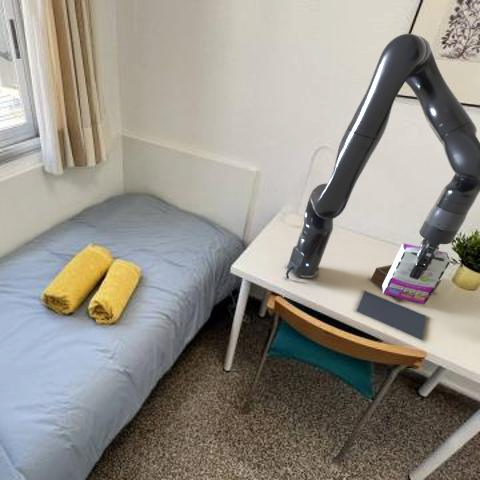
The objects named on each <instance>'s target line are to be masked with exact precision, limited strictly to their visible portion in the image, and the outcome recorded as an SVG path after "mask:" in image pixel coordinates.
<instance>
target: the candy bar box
mask: <svg viewBox="0 0 480 480" xmlns="http://www.w3.org/2000/svg"><path fill="white" fill-rule="evenodd" d="M399 248H400V249H399V250H398V252H397V254H396V256H395V258H394V260H393V263H392V264H391V265H392V266H391V268H390V271H389V272H388V274H387V277H386V279H385V281H384V283H383V285H382V289H381V290H382V295H384V296H387V297H391V298H393V297H395V298H399V299H402V300H403V301H406V302H410V303H413V304H417V305H422V306H425V305H426V303H427V302H428V301H429V298H430V297H431V295H432V294H433V293H432V292H433V290H434V288H435V287H436V285H437V283H438V282H439V280H441V278H442V277H443V276H444V274H445V272H446V270H447V268H448V267H449V266H450V263H451V262H452V260H451V259H450V256H449V253H448V252H446V251H442V250H441V251H440V250H438V252H437V253H436V254H435V257H434V258H433V259H432V261H431V263H430V264H429V266H428V267H427V270H425V271H423V272H422V273H421V275H420V277H419V279H414V278H412V277H410V273H411V271H412V270H413V268H414V266H415V265H414V264H416V262H417V260H418V258H417V255H418V253H419V251H420V247H419V246H418V245H414V244H409V243H404V242H403V243H402V244H401V246H400V247H399ZM421 255H422V254H421ZM421 255H420V256H421ZM420 264H422V263H420ZM422 265H424V264H422Z"/></svg>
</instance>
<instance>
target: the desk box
mask: <svg viewBox="0 0 480 480" xmlns="http://www.w3.org/2000/svg"><path fill="white" fill-rule="evenodd" d="M391 266H392V264H388V265H384V266H379V267H378V266H377V267H376V268H375V270H374V272H373V273H372V275H371V278H370V281H371V282H372V283H374V284H375V285H376V286H378V288H380V289H381V290H383V289H382V285H383V283H384V281H385V279H386V277H387V274H388V272H389V271H390V268H391ZM441 282H442V279H440V280H439V282H438V283H437V285H436V287H435V288H434V290H433V292H432V293H431V294H434V293H435V291H437V288H438V287H439V285H440V284H441ZM392 298H393V299H394V300H395V301H396V302H402V301H404V300H402V299H399V298H395V297H392Z"/></svg>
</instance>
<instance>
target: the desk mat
mask: <svg viewBox="0 0 480 480" xmlns="http://www.w3.org/2000/svg"><path fill="white" fill-rule="evenodd" d="M356 312H358V313H360V314H362V315H364V316H366V317H369V318H372V319H373V320H376V321H378V322H380V323H382V324H385V325H387V326H389V327H392V328H394V329H395V330H398V331H400V332H403V333H405V334H408V335H410V336H412V337H415V338H417V339H419V340H423V337H424V332H425V331H424V330H425V327H426V326H425V325H426V320H427V315H425V314H423V313H421V312H417V311H416V310H413V309H410V308H408V307H405V306H403V305H400V304H398V303H395V302H393V301H391V300H388V299H386V298H383V297H381V296H378V295H377V294H373V293H372V292H368V291H366V290H364V292H363V294H362V296H361V299H360V301H359V304H358V306H357V308H356Z"/></svg>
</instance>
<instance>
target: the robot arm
mask: <svg viewBox="0 0 480 480" xmlns="http://www.w3.org/2000/svg"><path fill="white" fill-rule="evenodd" d="M405 83H406V84H407V85H408V87H409V88H410V90H412V92H413V93H414V96H416V98H417V101H418V102H419V105H420V107H421V109H422V112H423V115H424V118H425V120H426V122H427V123H428V125H429V128H430V129H431V130H432V132H433V134H434V135H435V137H436V138H437V139H438V141H439V143H440V144H441V146H442V147H443V150H444V155H445V156H446V159H447V161H448V165H449V166H450V168H451V169H452V171H453V172H454V174H453V177H452V179H451V180H450V181H449V182H448V183H447V184H446V185H445V186H444V187H443V189H442V190H441V192H440V194H439V196H438V198H437V199H436V201H435V203H434V205H432V207H431V209H430V210H429V212H428V214H427V216H426V218H425V220H424V221H423V223H422V225H421V226H420V229H419V231H418V232H419V233H418V234H419V235H420V236H421V237H422V240H421V242H420V245H419V246H418V247H420V251H419V253H418V255H417V258H418V260H417V262H416V264H414V265H415V266H414V268H413V270H412V271H411V273H410V277H412V278H414V279H419V277H420V275H421V273H422V272H423V271H425V270H427V267H428V266H429V264H430V263H431V261H432V259H433V258H434V257H435V254H436V253H437V252H438V251H440V245H449V244H452V242H453V240H454V239H455V237H456V236H457V234H458V232H459V231H460V229H461V227H462V225H464V222H465V220H466V218H467V216H468V213H469V211H470V210H471V209H472V207H473V205H474V204H475V202H476V200H477V198H478V196H479V194H480V139H478V136H477V132H478V129H477V126H476V124H475V123H474V121H473V120H472V118H471V116H470V115H469V113H468V112H467V111H466V109H465V108H464V106H463V105H462V103H461V102H460V100H459V99H458V98H457V97H456V95H455V94H454V92H453V91H452V89H451V88H450V86H449V85H448V83H447V82H446V80H445V78H444V76H443V75H442V73H441V71H440V69H439V66H438V64H437V62H436V59H435V57H434V54H433V50H432V49H431V45H430V42H429V41H428V40H427V39H426V38H425V37H423V36H419V35H417V34H414V33H403V34H399V35H398V36H396V37H394V38H393V39H391V40H390V41H389V42H388V43H387V44H386V46H385V47H384V49H383V50H382V52H381V53H380V56H379V59H378V60H377V64H376V67H375V69H374V72H373V75H372V76H371V80H370V82H369V85H368V87H367V88H366V92H365V94H364V95H363V97H362V99H361V100H360V102H359V105H358V107H357V108H356V111H355V112H354V114H353V116H352V119H351V120H350V122H349V123H348V126H347V128H346V130H345V131H344V134H343V136H342V138H341V140H340V142H339V145H338V147H337V148H338V149H337V151H336V157H335V161H334V165H333V171H332V173H331V176H330V178H329V180H328V182H323V183H320V184H318V185H316V186H315V187H314V188H313V189H312V191H311V192H310V195H309V197H308V201H307V204H306V207H305V211H304V215H303V223H302V228H301V230H300V233H299V236H298V240H297V242H296V245H295V246H293V248H292V251H291V254H290V257H289V260H288V262H287V270H286V274H285V278H286V279H287V280H289V279H290V276H289V274H290V272H291V273H292V274H293V275H294V276H295V277H296V278H302V279H312V278H315V277H316V276H317V273H318V271H319V270H320V269H319V267H320V264H321V262H322V260H323V256H324V253H325V251H326V248H327V245H328V243H329V241H330V238H331V236H332V232H333V230H334V219H336V218H337V217H339V216H340V215H341V214H342V213H343V212H344V210H345V209H346V206H347V205H348V202H349V200H350V197H351V195H352V192H353V190H354V188H355V186H356V183H358V182H357V181H358V180H359V178H360V176H361V174H362V173H363V171H364V170H365V168H366V166H367V164H368V162H369V161H370V159H371V157H372V155H373V153H374V152H375V151H376V149H377V147H378V145H379V144H380V142H381V139H382V138H383V137H384V134H385V131H386V129H387V126H388V125H389V121H390V116H391V112H392V110H393V109H392V108H393V105H394V102H395V101H396V98H397V96H398V95H399V92H400V91H401V89H402V87H403V86H404V84H405ZM421 254H422V255H421ZM420 255H421V256H420ZM420 263H422V264H424V265H422V264H420Z"/></svg>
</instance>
